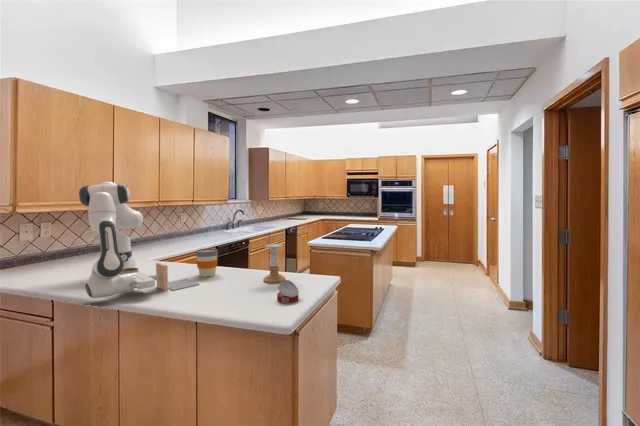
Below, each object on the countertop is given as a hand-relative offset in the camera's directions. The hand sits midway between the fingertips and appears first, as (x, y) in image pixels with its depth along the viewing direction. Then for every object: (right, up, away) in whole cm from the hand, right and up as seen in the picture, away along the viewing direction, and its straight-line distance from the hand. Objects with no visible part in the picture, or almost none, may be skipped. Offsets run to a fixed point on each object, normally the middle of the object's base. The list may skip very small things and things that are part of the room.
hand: (157, 277), depth 163 cm
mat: (+8, -6, +8) cm, 13 cm away
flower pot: (-19, -6, +8) cm, 22 cm away
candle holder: (+58, -5, +16) cm, 60 cm away
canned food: (+69, -8, -16) cm, 71 cm away
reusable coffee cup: (+15, -5, +29) cm, 33 cm away
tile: (+1, -6, +2) cm, 7 cm away
